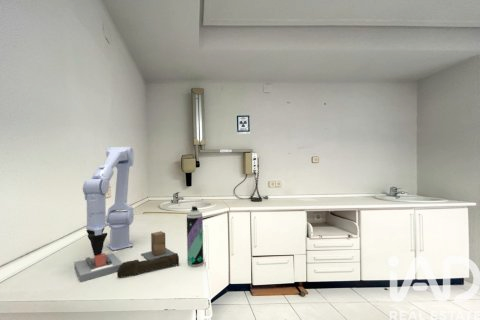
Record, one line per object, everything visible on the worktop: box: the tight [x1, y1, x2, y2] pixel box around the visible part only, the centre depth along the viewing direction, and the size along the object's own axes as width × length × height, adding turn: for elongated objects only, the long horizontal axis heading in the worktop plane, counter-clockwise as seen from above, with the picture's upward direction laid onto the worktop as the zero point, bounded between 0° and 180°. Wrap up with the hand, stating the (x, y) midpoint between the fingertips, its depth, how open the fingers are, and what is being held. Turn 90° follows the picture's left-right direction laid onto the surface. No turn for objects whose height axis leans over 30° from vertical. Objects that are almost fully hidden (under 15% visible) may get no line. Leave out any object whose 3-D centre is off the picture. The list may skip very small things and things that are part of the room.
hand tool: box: [116, 252, 180, 278], centre depth 78 cm, size 19×4×5 cm, turn 118°
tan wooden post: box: [150, 230, 167, 256], centre depth 91 cm, size 4×4×8 cm
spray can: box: [186, 205, 204, 268], centre depth 82 cm, size 6×6×20 cm
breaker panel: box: [73, 252, 123, 283], centre depth 79 cm, size 14×12×3 cm
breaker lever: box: [93, 252, 107, 267], centre depth 78 cm, size 2×3×3 cm
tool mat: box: [140, 247, 176, 260], centre depth 91 cm, size 10×10×1 cm
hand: (96, 251), depth 82 cm, fingers open, 7 cm apart
